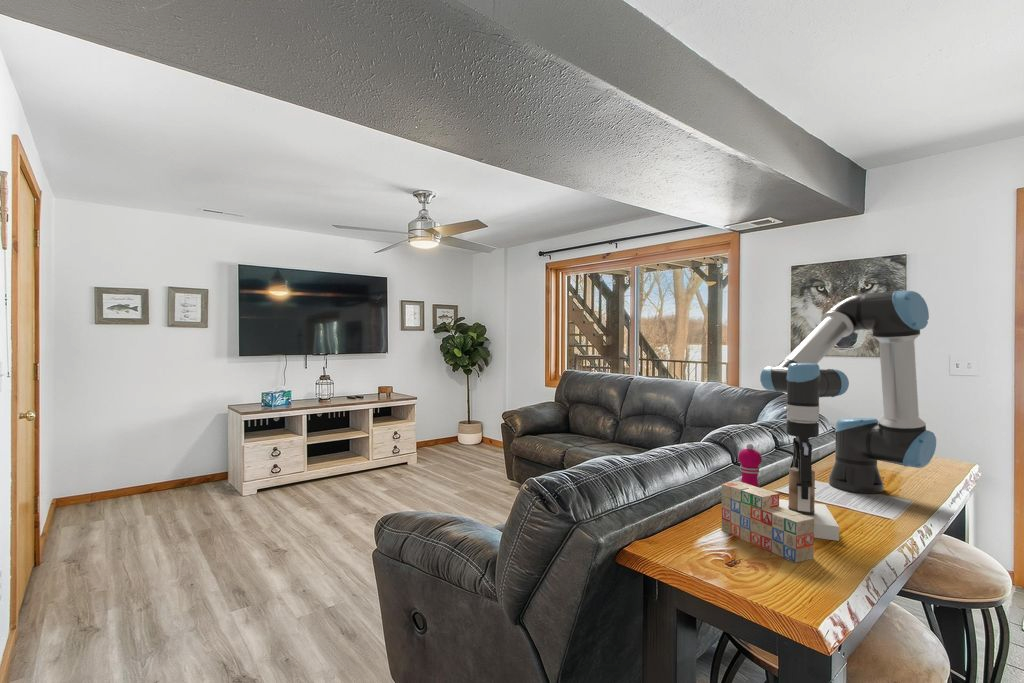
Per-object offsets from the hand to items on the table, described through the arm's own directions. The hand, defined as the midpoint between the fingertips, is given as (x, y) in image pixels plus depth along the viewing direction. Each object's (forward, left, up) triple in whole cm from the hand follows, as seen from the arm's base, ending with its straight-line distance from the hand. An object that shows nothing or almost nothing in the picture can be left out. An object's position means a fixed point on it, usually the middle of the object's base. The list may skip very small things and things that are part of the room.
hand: (801, 505), depth 136 cm
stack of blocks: (+10, +18, -5) cm, 21 cm away
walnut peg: (0, 0, -4) cm, 4 cm away
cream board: (0, 0, -5) cm, 5 cm away
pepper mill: (+13, -3, -5) cm, 14 cm away
